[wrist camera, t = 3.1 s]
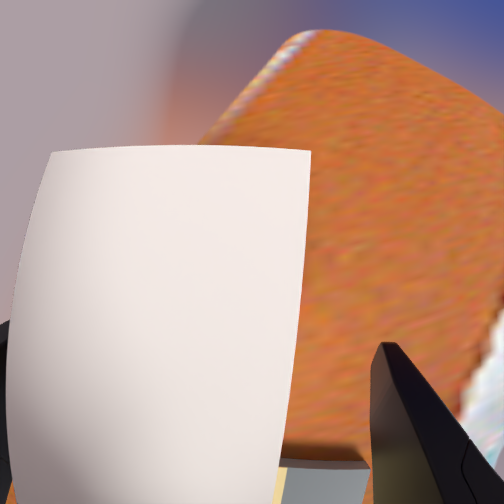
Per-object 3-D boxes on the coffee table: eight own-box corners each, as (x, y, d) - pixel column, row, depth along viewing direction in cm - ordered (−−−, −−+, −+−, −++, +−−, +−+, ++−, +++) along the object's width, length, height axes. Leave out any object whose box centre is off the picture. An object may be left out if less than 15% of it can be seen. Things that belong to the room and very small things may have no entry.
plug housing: (275, 415, 14) (252, 592, 3) (189, 402, 15) (17, 505, 3) (290, 286, 16) (310, 150, 4) (205, 277, 16) (51, 151, 5)
